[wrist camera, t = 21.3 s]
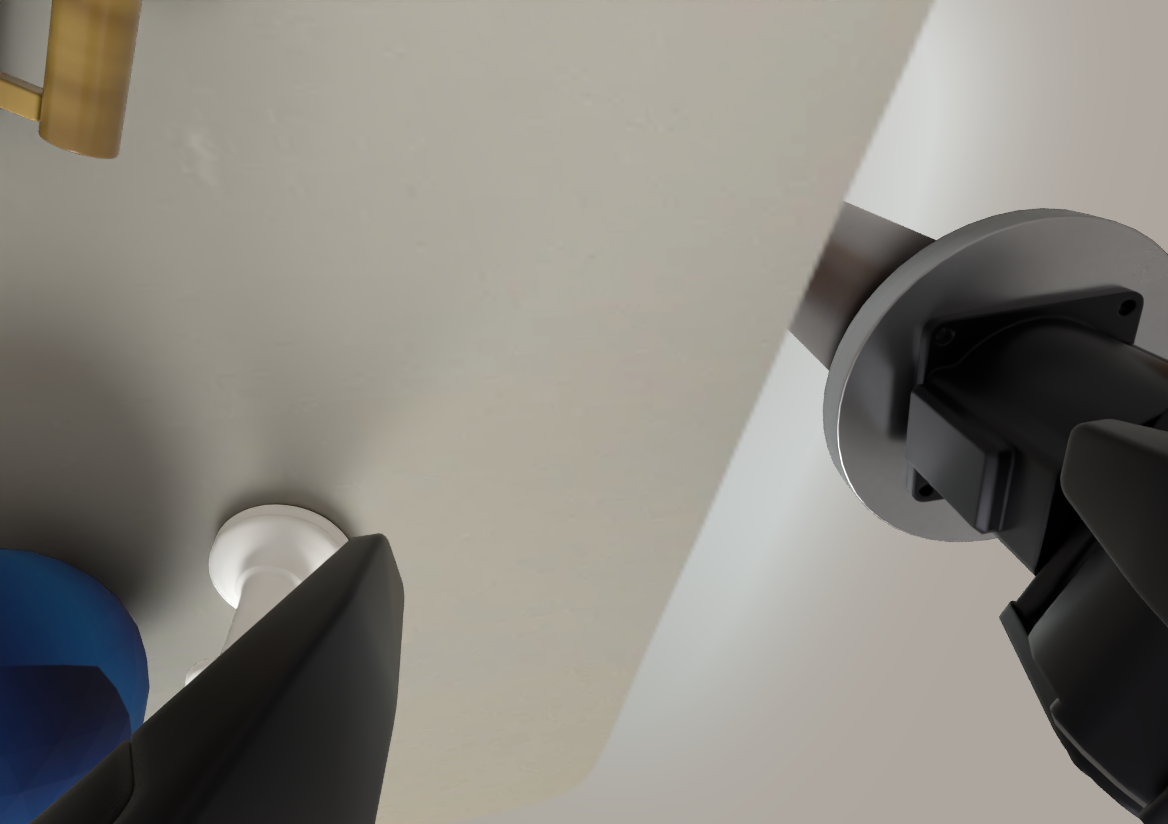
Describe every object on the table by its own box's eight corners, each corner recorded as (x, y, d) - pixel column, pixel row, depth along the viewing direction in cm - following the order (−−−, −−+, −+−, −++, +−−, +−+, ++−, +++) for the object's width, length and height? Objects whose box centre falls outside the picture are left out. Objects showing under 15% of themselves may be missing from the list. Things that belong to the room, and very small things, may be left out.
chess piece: (374, 599, 26) (293, 883, 17) (246, 623, 26) (96, 918, 17) (330, 492, 23) (209, 752, 14) (189, 517, 23) (-18, 794, 14)
